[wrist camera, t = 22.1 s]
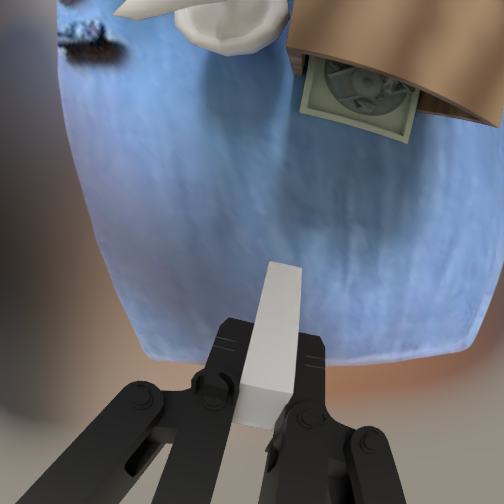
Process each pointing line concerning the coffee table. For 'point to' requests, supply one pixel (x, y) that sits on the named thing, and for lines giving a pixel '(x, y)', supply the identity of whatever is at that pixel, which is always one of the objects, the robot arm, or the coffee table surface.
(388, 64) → the shelf
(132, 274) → the coffee table surface
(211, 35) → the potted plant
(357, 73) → the figurine
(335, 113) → the tray
